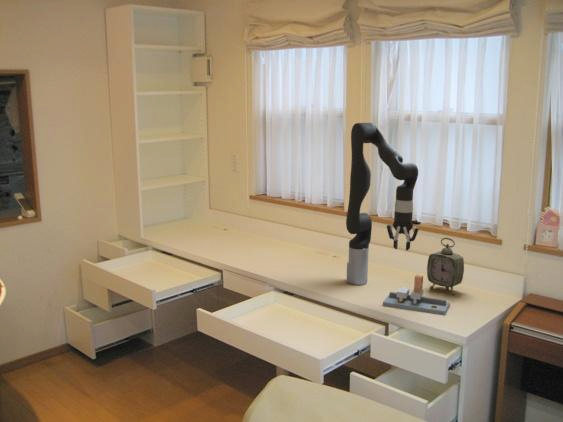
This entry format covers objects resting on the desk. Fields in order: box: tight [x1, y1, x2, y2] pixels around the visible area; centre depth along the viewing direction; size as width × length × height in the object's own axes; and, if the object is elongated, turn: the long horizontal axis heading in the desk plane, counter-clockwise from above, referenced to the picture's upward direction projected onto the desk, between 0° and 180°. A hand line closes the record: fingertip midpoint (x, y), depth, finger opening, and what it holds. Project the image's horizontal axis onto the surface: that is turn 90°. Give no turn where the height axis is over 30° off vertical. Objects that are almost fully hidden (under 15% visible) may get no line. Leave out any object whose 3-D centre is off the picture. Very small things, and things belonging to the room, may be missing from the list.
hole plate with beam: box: [382, 286, 451, 316], centre depth 264 cm, size 26×12×6 cm, turn 66°
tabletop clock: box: [426, 237, 465, 296], centre depth 281 cm, size 14×9×25 cm, turn 45°
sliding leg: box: [410, 274, 424, 304], centre depth 263 cm, size 4×8×10 cm, turn 156°
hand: (401, 249), depth 265 cm, fingers open, 4 cm apart
